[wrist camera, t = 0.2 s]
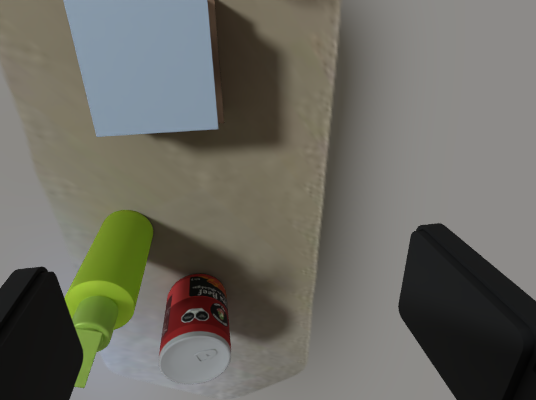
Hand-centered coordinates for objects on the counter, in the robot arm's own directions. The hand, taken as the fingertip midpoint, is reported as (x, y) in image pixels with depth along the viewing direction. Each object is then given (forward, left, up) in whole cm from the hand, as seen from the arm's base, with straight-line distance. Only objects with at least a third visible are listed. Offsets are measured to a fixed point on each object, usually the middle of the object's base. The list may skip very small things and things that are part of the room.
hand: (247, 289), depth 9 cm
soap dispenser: (+15, -12, -32) cm, 37 cm away
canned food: (+27, -5, -32) cm, 42 cm away
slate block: (-3, -5, -27) cm, 28 cm away
